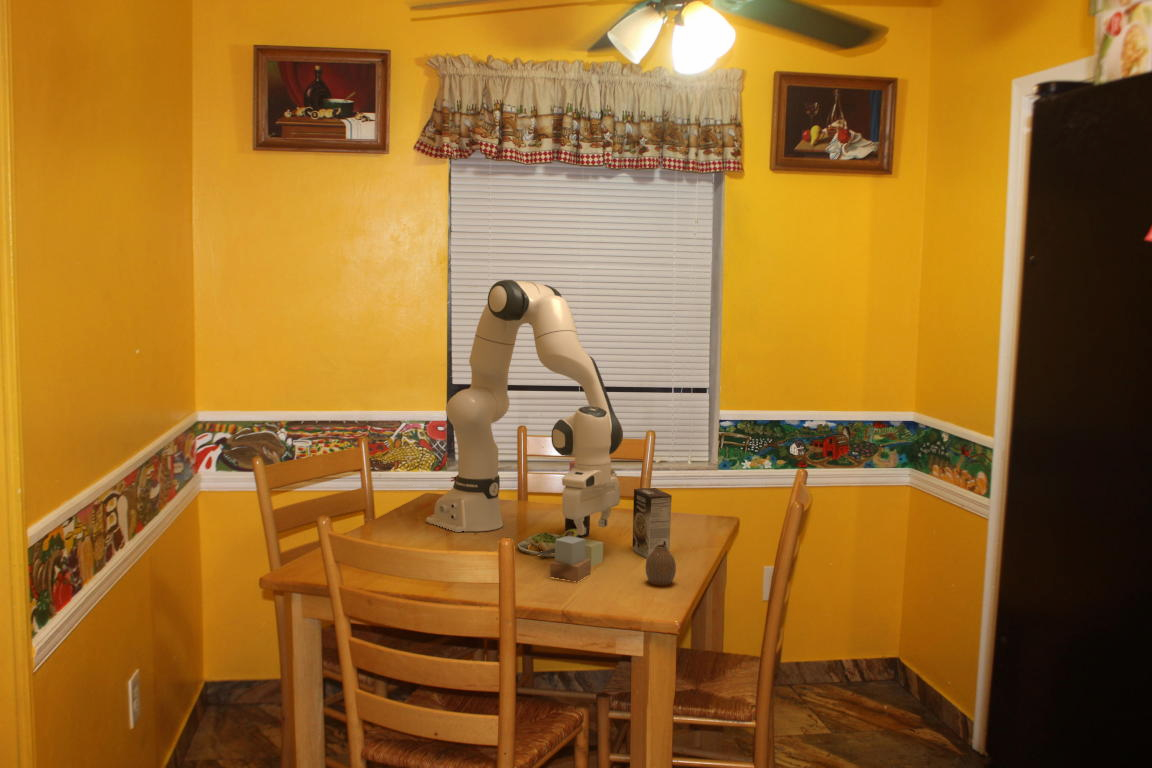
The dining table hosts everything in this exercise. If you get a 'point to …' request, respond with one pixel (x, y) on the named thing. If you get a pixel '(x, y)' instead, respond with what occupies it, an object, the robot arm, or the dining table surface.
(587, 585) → the dining table surface
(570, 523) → the bottle
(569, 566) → the walnut base
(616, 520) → the dining table surface
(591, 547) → the green cube
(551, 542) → the salad plate
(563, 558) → the grey cube
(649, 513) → the coffee box
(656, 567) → the brown rounded piece
